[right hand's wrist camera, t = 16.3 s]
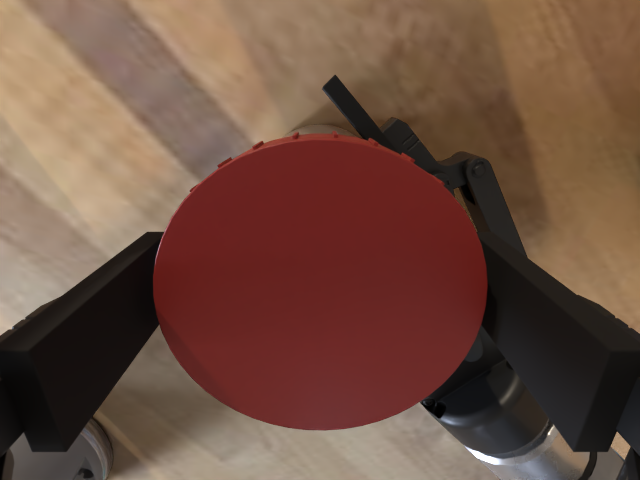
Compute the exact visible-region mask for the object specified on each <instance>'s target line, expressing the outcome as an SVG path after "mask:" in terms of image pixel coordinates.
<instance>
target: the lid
mask: <svg viewBox="0 0 640 480" xmlns="http://www.w3.org/2000/svg"><path fill="white" fill-rule="evenodd" d="M414 161H415V160H414V159H412V158H411V157H409V156H407V155H406V154H404V153H402V154H401V155H400V154H399V153H396V152H394V151H392V150H390V149H388V148H386V147H384V146H382V145H380V144H379V143H378V142H376V141H375V140H373V139H371V138H369V139H368V141H367V140H364V139H361V138H357V137H351V136H345V135H340V134H337V132H336V131H332V134H321V133H312V134H303V135H299V132H295V133H294V134H293V135H292V136H289V137H285V138H281V139H277V140H272V141H269V142H267V143H263V141H261V142H259V143H257V144H256V145H254V146H253V148H252V149H250V150H248V151H246V152H245V153H243V154H241V155H239V156H238V157H236V158H234V159H232V158H231V157H230V158H229V159H227V160H225V161H224V162H222V163H220V164H219V165H218V167H219V169H217V170H216V171H215V172H213V173H212V174H211V175H210V176H208V177H207V178H206V179H204V180H203V181H202V182H201V183H199V184H198V185H196V186H195V187H193V188H192V189H191V190H190V192H191V193H190V194H189V195H188V196H187V197H186V198H185V199H184V200H183V202H182V203H181V205H180V206H179V208H178V209H177V210H176V212H175V213H174V215H173V216H172V218H171V219H170V222H169V224H168V226H167V228H166V230H165V232H164V234H163V236H162V239H161V242H160V245H159V248H158V252H157V255H156V260H155V267H154V274H153V297H154V303H155V309H156V315H157V318H158V321H159V324H160V327H161V330H162V333H163V335H164V337H165V339H166V342H167V344H168V346H169V348H170V350H171V351H172V353H173V354H174V356H175V357H176V359H177V360H178V362H179V363H180V365H181V366H182V367H183V368H184V370H185V371H186V372H187V373H188V374H189V375H190V377H191V378H192V379H193V380H194V381H195V382H196V383H198V384H199V385H200V386H201V387H202V388H203V389H204V390H205V391H206V392H208V393H209V394H211V395H212V396H213V397H215V398H216V399H217V400H219V401H220V402H222V403H224V404H225V405H227V406H229V407H231V408H232V409H234V410H236V411H238V412H240V413H242V414H245V415H247V416H249V417H252V418H254V419H257V420H260V421H263V422H266V423H269V424H273V425H278V426H283V427H287V428H294V429H303V430H337V429H347V428H352V427H358V426H363V425H367V424H370V423H374V422H378V421H381V420H383V419H386V418H389V417H391V416H394V415H396V414H398V413H400V412H402V411H404V410H406V409H408V408H410V407H412V406H414V405H415V404H417V403H418V402H420V401H421V400H423V399H425V398H426V397H428V396H429V395H430V394H431V393H433V392H434V391H435V390H436V389H437V388H439V387H440V386H441V385H442V384H443V383H444V382H445V381H446V380H447V379H448V378H449V377H450V376H451V375H452V374H453V373H454V372H455V371H456V369H457V368H458V367H459V365H460V364H461V362H462V361H463V360H464V358H465V357H466V356H467V354H468V352H469V350H470V348H471V347H472V345H473V343H474V341H475V339H476V337H477V334H478V331H479V329H480V326H481V324H482V320H483V316H484V312H485V307H486V300H487V288H488V283H487V269H486V262H485V258H484V253H483V249H482V245H481V243H480V240H479V238H478V235H477V233H476V230H475V228H474V226H473V224H472V222H471V221H470V219H469V217H468V216H467V214H466V211H465V210H464V209H463V207H462V206H461V205H460V204H459V203H458V201H457V200H456V199H455V198H454V196H453V195H452V194H451V193H450V192H449V190H447V189H446V188H445V187H444V185H445V184H444V183H443V182H442V181H441V180H439V179H438V178H436V177H434V176H433V175H431V174H429V173H427V172H426V171H424V170H423V169H421V168H420V167H418V166H417V165H415V164H414Z"/></svg>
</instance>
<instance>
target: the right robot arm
mask: <svg viewBox="0 0 640 480" xmlns="http://www.w3.org/2000/svg"><path fill="white" fill-rule="evenodd" d="M476 233H477V235H478V238H479V240H480V243H481V245H482V249H483V253H484V258H485V262H486V269H487V283H488V288H487V300H486V307H485V312H484V316H483V320H482V324H481V325H482V327H483V328H484V329H485V331H486V332H487V334H488V335H489V336H490V338H491V339H492V340H493V342H494V343H495V345H496V346H497V347H498V349H499V350H500V351H501V353H502V354H503V356H504V357H505V358H506V360H507V361H508V363H509V364H510V365H511V367H512V368H513V369H514V371H515V372H516V374H517V375H518V376H519V378H520V379H521V380H522V382H523V383H524V385H525V386H526V387H527V389H528V390H529V391H530V393H531V394H532V396H533V397H534V398H535V400H536V401H537V403H538V404H539V405H540V407H541V408H542V409H543V411H544V412H545V414H546V415H547V416H548V418H549V419H550V420H551V422H552V423H553V425H554V426H555V427H556V429H557V430H558V431H559V433H560V434H561V436H562V437H563V438H564V440H565V441H566V443H567V444H568V445H569V447H570V448H571V449H572V451H573V452H608V451H609V448H610V446H611V444H612V441H613V439H614V437H615V434H616V432H618V433H619V434H620V435H621V436H622V437H623V438H624V439H625V440H626V442H627V443H628V444H629V445H630V446H631V447H630V449H629V452H628V454H627V456H626V458H625V460H624V463H623V465H622V467H621V469H620V471H619V474H618V476H617V478H616V480H640V334H639V333H638V332H636V331H635V330H634V329H632V328H628V325H627V324H625V323H624V322H623V321H621V320H620V319H618V318H615V316H614V315H613V314H611V313H610V312H609V311H607V310H606V309H605V308H603V307H602V306H600V305H599V304H597V303H595V302H593V301H590V300H588V299H586V298H584V297H582V296H580V295H576V294H575V293H573V292H572V291H571V290H569V289H568V288H567V287H565V286H564V285H563V284H561V283H560V282H559V281H557V280H556V279H555V278H553V277H552V276H551V275H549V274H548V273H547V272H545V271H544V270H543V269H541V268H540V267H539V266H537V265H536V264H535V263H533V262H532V261H531V260H529V259H528V258H527V257H525V256H524V255H523V254H521V253H520V252H519V251H517V250H516V249H515V248H513V247H512V246H511V245H509V244H508V243H507V242H505V241H504V240H503V239H501V238H500V237H499V236H497V235H496V234H495V233H493V232H476ZM163 234H164V232H147V233H145V234H144V235H143V236H141V237H140V238H139V239H137V240H136V241H135V242H133V243H132V244H131V245H129V246H128V247H127V248H125V249H124V250H123V251H121V252H120V253H119V254H117V255H116V256H115V257H113V258H112V259H111V260H109V261H108V262H107V263H105V264H104V265H103V266H101V267H100V268H99V269H97V270H96V271H95V272H93V273H92V274H91V275H89V276H88V277H87V278H85V279H84V280H83V281H81V282H80V283H79V284H77V285H76V286H75V287H73V288H72V289H71V290H69V291H68V292H67V293H65V294H64V295H63V296H61V297H59V298H57V299H55V300H53V301H51V302H48V303H46V304H44V305H42V306H40V307H39V308H38V309H36V310H35V311H34V312H32V313H31V314H29V315H28V316H27V317H26V319H25V320H21V321H20V322H18V323H17V324H16V325H14V326H13V327H12V330H8V331H6V332H5V333H3V334H2V335H1V336H0V480H12V475H13V469H14V458H13V454H12V452H11V449H10V447H11V446H12V445H13V444H14V443H15V441H16V440H17V439H18V438H19V437H20V436H21V435H22V434H23V433H24V434H25V437H26V439H27V441H28V444H29V446H30V448H31V451H32V452H67V451H68V449H69V448H70V447H71V445H72V444H73V443H74V441H75V440H76V438H77V437H78V436H79V434H80V433H81V431H82V430H83V429H84V427H85V426H86V425H87V423H88V422H89V420H90V419H91V418H92V416H93V415H94V414H95V412H96V411H97V409H98V408H99V407H100V405H101V404H102V403H103V401H104V400H105V398H106V397H107V396H108V394H109V393H110V391H111V390H112V389H113V387H114V386H115V385H116V383H117V382H118V380H119V379H120V378H121V376H122V375H123V374H124V372H125V371H126V369H127V368H128V367H129V365H130V364H131V363H132V361H133V360H134V358H135V357H136V356H137V354H138V353H139V351H140V350H141V349H142V347H143V346H144V345H145V343H146V342H147V340H148V339H149V338H150V336H151V335H152V334H153V332H154V331H155V329H156V328H157V327H158V325H159V321H158V318H157V315H156V309H155V303H154V297H153V274H154V267H155V260H156V255H157V252H158V248H159V245H160V242H161V239H162V236H163Z"/></svg>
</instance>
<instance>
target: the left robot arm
mask: <svg viewBox="0 0 640 480" xmlns="http://www.w3.org/2000/svg"><path fill="white" fill-rule="evenodd" d="M322 90H323V91H324V92H325V93H326V95H327V96H328V97H329V98H330V99H331V100H332V102H333V103H334V104H335V105H336V106H337V108H338V109H339V110H340V111H341V112H342V114H343V115H344V116H345V117H346V118H347V120H348V121H349V122H350V123H351V124H352V126H353V127H354V128H355V129H356V130H357V132H358V133H359V134H360V135H361V136H362V138H363V139H364V140H367V141H368V139H369V138H371V139H373V140H375V141H376V142H378V143H379V144H380V145H382V146H384V147H386V148H388V149H390V150H392V151H394V152H396V153H399V154H400V155H401V154H402V153H404V154H406V155H407V156H409V157H411V158H412V159H414V160H415V161H414V164H415V165H417V166H418V167H420V168H421V169H423V170H424V171H426V172H427V173H429V174H431V175H433V176H434V177H436V178H438V179H439V180H441V181H442V182H443V183H444V184H445V185H444V187H445V188H446V189H447V190H449V192H450V193H451V194H452V195H453V196H454V190H453V189H455V188H457V187H458V188H459V190H460V192H461V194H462V197H463V199H464V201H465V203H466V206H467V208H468V210H469V213H470V215H471V217H472V219H473V222H474V224H475V226H476V228H477V231H478V232H493V233H495V234H496V235H497V236H499V237H500V238H501V239H503V240H504V241H505V242H507V243H508V244H509V245H511V246H512V247H513V248H515V249H516V250H517V251H519V252H520V253H521V254H523V255H524V256H525V257H527V255H526V252H525V250H524V247H523V245H522V242H521V240H520V237H519V235H518V232H517V230H516V227H515V225H514V222H513V220H512V217H511V215H510V212H509V210H508V207H507V205H506V202H505V200H504V197H503V195H502V192H501V190H500V187H499V185H498V182H497V179H496V177H495V174H494V172H493V169H492V167H491V164H490V163H489V161H488V160H486V159H484V158H481V157H478V156H475V155H472V154H469V153H467V152H457V153H455V154H454V155H453V156H452V157H451V158H448V159H446V160H443V161H436V160H435V159H434V158H433V157H432V155H431V154H430V153H429V152H428V150H427V149H426V148H425V146H424V145H423V144H422V143H421V141H420V140H419V139H418V137H417V136H416V135H415V134H414V132H413V131H412V130H411V128H410V127H409V126H408V125H407V124H406V123H404V122H402V121H400V120H399V119H396V118H391V119H389V120H388V121H387V122H386V123H385V124H384V125H383V126H382V127H381V128H378V127H377V125H376V124H375V123H374V122H373V120H372V119H371V118H370V117H369V116H368V114H367V113H366V112H365V111H364V109H363V108H362V107H361V106H360V104H359V103H358V102H357V101H356V100H355V98H354V97H353V96H352V95H351V93H350V92H349V91H348V90H347V88H346V87H345V86H344V85H343V84H342V82H341V81H340V80H339V79H338V77H337V76H336V75H334V76H333V77H332V78H331V79H330V80H329V81H328V82H327V83H326V84H325V85H324V86H323V88H322ZM454 198H455V196H454ZM527 258H528V257H527ZM420 403H421V404H422V405H423V406H424V407H425V409H426V410H427V411H428V412H429V413H430V414H431V415H432V416H433V417H434V418H435V419H436V420H437V421H438V422H439V423H440V424H441V425H442V426H444V427H445V428H446V429H447V430H448V431H449V432H450V433H451V434H452V435H453V436H454V437H455V438H456V439H457V440H459V441H460V442H461V443H462V444H463V445H464V446H465V447H466V448H467V449H468V450H469V451H470V452H471V453H472V454H473V455H474V456H475V457H476V458H478V459H479V460H480V461H481V462H482V463H483V464H484V465H485V466H486V467H487V468H488V469H490V470H491V471H492V472H493V473H494V474H495V475H496V476H497V477H498V478H499V479H500V480H616V478H617V476H618V474H619V471H620V469H621V467H622V465H623V463H624V459H623V458H622V457H621V456H620V455H619V454H618V453H617V452H616V451H615V450H614V449H612V448H611V446H610V448H609V451H608V452H573V451H572V449H571V448H570V447H569V445H568V444H567V443H566V441H565V440H564V438H563V437H562V436H561V434H560V433H559V431H558V430H557V429H556V427H555V426H554V425H553V423H552V422H551V420H550V419H549V418H548V416H547V415H546V414H545V412H544V411H543V409H542V408H541V407H540V405H539V404H538V403H537V401H536V400H535V398H534V397H533V396H532V394H531V393H530V391H529V390H528V389H527V387H526V386H525V385H524V383H523V382H522V380H521V379H520V378H519V376H518V375H517V374H516V372H515V371H514V369H513V368H512V367H511V365H510V364H509V363H508V361H507V360H506V358H505V357H504V356H503V354H502V353H501V351H500V350H499V349H498V347H497V346H496V345H495V343H494V342H493V340H492V339H491V338H490V336H489V335H488V334H487V332H486V331H485V329H484V328H483V327H482V325H481V326H480V329H479V331H478V334H477V337H476V339H475V341H474V343H473V345H472V347H471V348H470V350H469V352H468V354H467V356H466V357H465V358H464V360H463V361H462V362H461V364H460V365H459V367H458V368H457V369H456V371H455V372H454V373H453V374H452V375H451V376H450V377H449V378H448V379H447V380H446V381H445V382H444V383H443V384H442V385H441V386H440V387H439V388H437V389H436V390H435V391H434V392H433V393H431V394H430V395H429V396H428V397H426V398H425V399H423V400H421V401H420ZM10 449H11V452H12V454H13V458H14V469H13V475H12V480H106V478H107V476H108V474H109V472H110V470H111V467H112V462H113V454H112V448H111V445H110V442H109V440H108V438H107V436H106V435H105V433H104V431H103V430H102V429H101V427H100V426H99V425H98V424H97V423H96V422H95V421H94V420H93V419H92V418H91V419H90V420H89V422H88V423H87V425H86V426H85V427H84V429H83V430H82V431H81V433H80V434H79V436H78V437H77V438H76V440H75V441H74V443H73V444H72V445H71V447H70V448H69V449H68V451H67V452H32V451H31V448H30V446H29V444H28V441H27V439H26V437H25V434H24V433H23V434H22V435H21V436H20V437H19V438H18V439H17V440H16V441H15V443H14V444H13V445H12V446H11V447H10Z"/></svg>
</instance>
